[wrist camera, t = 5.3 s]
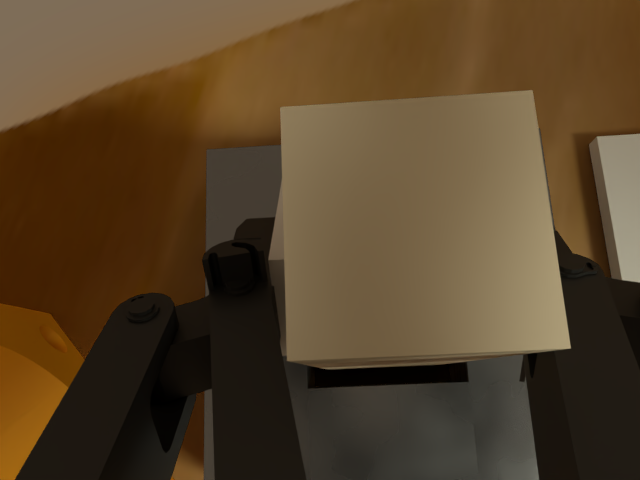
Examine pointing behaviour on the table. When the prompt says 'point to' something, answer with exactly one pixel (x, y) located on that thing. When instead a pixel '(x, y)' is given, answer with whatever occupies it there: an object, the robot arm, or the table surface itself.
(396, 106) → the birch peg
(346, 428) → the socket block
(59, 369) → the pipe clamp
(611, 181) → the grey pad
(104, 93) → the table surface
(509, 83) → the table surface
